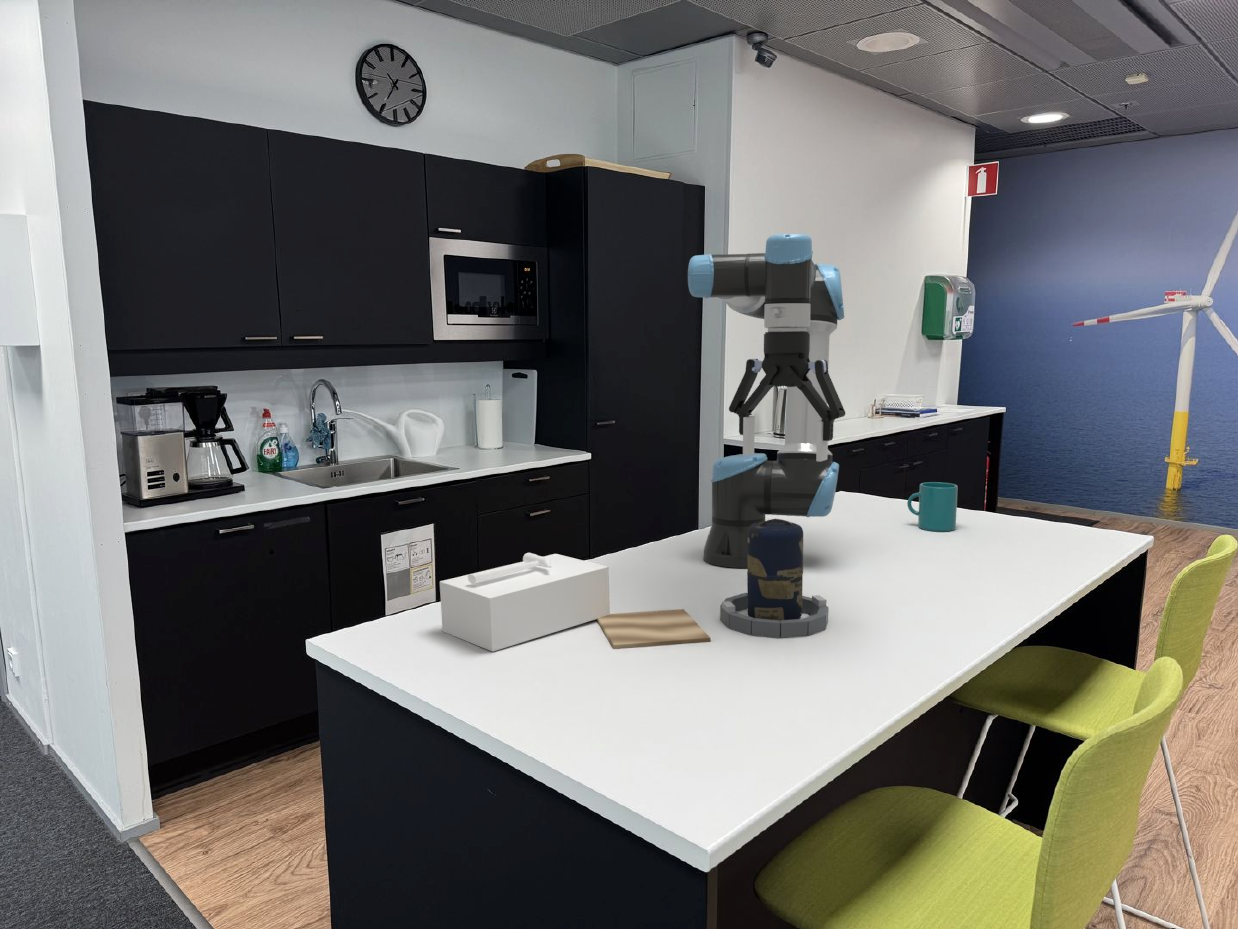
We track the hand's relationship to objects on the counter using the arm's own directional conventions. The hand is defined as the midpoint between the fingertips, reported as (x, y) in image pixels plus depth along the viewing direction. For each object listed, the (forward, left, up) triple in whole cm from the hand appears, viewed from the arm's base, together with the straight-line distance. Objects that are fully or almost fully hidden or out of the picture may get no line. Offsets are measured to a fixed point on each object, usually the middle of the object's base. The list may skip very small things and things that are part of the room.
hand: (784, 457), depth 154 cm
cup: (-63, +66, -29) cm, 96 cm away
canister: (0, -1, -29) cm, 29 cm away
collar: (0, -1, -29) cm, 29 cm away
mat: (0, -23, -29) cm, 37 cm away
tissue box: (-7, -43, -28) cm, 52 cm away
